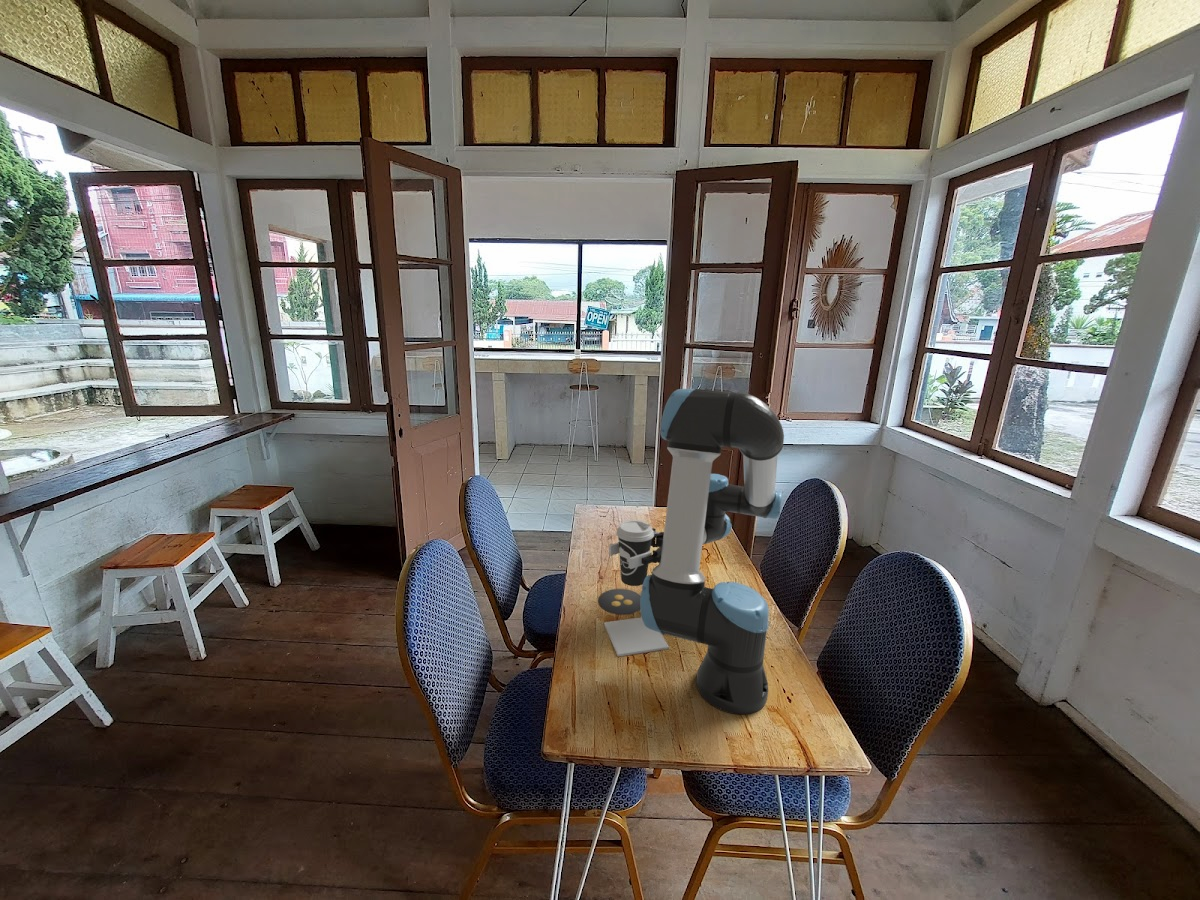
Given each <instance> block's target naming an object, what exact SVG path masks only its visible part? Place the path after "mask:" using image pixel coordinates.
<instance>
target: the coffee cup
mask: <svg viewBox="0 0 1200 900" xmlns="http://www.w3.org/2000/svg"><path fill="white" fill-rule="evenodd" d="M652 528H653V527H652V526H651V524H650V523H648V522H647V521H643V520H639V519H637V520H636V519H632V520H625V521H623V522H621V523H620V524H619V526H618V528H617V529H616V532H615V534H616V536H617V538H618V539H617V540H618V542H619V553H618V555H619V566H620V567H619V568H620V580H621V582H622V583H623V584H625V586H626V585H627V586H631V587H638V586H643V582H644V580H645V578H646V577H647V576H648V569H649V564H647V565H642V566H639V567H636V568H633V569H630V568H629V558H631V557H634V556H637V555H640V554H643V553H646V552H649V551H650V552H651V547H652V546H651V541H652V538H653V537H654V532H653V530H652Z"/></svg>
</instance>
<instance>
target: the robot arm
mask: <svg viewBox="0 0 1200 900" xmlns="http://www.w3.org/2000/svg"><path fill="white" fill-rule="evenodd" d="M780 421H781V420H780V419H779V418H778V416H777V415H776V413H775V412H774V410H773V409H772V408H771V407H769V406H768V404H766V402H764V401H763V400H761V399H759V398H758V397H756V396H755V395H752V394H749V393H747V392H739V391H738V392H734V391H733V392H732V391H731V392H730V391H722V390H721V391H720V390H711V389H701V388H678V389H676V390H674V391H673V392H672V393H671V394H670V396H669V398H668V399H667V401H666V404H665V406H664V410H663V413H662V417H661V421H660V436H661V438H662V439H663V440H664V441H667V448H666V449H667V450H668V452H669V453H670V454H671V455H672V456H671V457H672V463H671V469H670V470H671V472H670V480H669V488H668V496H667V504H666V512H665V520H664V521H665V522H664V529H663V531H660V532H657V530H656V528H654V527H651V528H652V530H653V532H654V537H653V538H652V541H651V547H652V548H657V549H655V550H654V549H653V550H652V552H651V550H650V551H649V552H646V553H643V554H640V555H637V556H634V557H631V558H629V568H630V569H633V568H636V567H639V566H642V565H647V564H648V565H650V564H656V563H658V565H656V566H655V567H654V568H652V571H651V574H647V577H646V578H645V580H644V582H643V585H641V586H642V587H641V588H642V589H641V592H640V596H641V599H640V618H641V617H642V620H643V622H644V625H645V626H646V627H647V628H649V629H651V630H654V631H657V632H660V633H661V634H662V635H667V636H671V637H675V638H679V639H683V640H687V641H690V642H693V643H694V642H695V643H699V644H703V645H706V646H707V651H706V654H705V655H704V658H703V659H702V661H701V664H700V665H699V667H698V670H697V673H696V688H697V690H698V693H699V694H700V696H701V697H702V698H703V699H704V700H705V701H706V703H708V704H709V705H710V706H713V707H714V708H716V709H718V710H720V711H722V712H725V713H730V714H734V715H748V714H749V715H750V714H753V713H756V712H758V711H759V710H761V709H763V707H764V706H765V705H766V703H767V701H768V695H769V682H768V679H767V675H766V671H765V667H764V659H765V658H764V657H765V648H766V643H767V642H766V640H767V633H768V632H767V631H768V629H769V627H770V621H769V616H770V615H769V613H770V611H769V608H770V607H769V605H768V602H767V601H766V599H765V598H764V597H763V596H762V595H761V594H760V592H758V591H757V590H756V589H754V588H752V587H751V586H748V585H746V584H742V583H739V582H734V581H727V582H725V581H722V582H718V583H717V584H715V585H714V587H713V588H711V587H706V586H705V583H706V576H705V575H704V574H703V572H702V571H701V570H700V567H701V558H702V551H703V545H706V544H710V543H713V542H716V541H719V540H722V539H724V538H725V537H727V536H729V535H730V533H731V532H732V527H733V525H732V523H731V519H730V517H729V516H728V515H727V514H726V512H729V513H733V514H734V513H735V514H742V515H747V516H752V517H759V518H762V519H763V518H764V519H773V520H774V519H775V520H776V519H779V518H780V517H781V511H782V505H783V504H782V502H783V493H782V492H780V491H776V482H777V481H776V479H777V466H778V455H779V454H780V453H781V452H782V451H783V447H784V443H785V441H784V439H785V435H784V429H783V426H782V423H781V422H780ZM723 447H727V448H736V449H738V450H739V451H740V453H741V454H742V460H743V463H742V464H743V481H744V482H743V483H744V485H736V484H735V485H734V484H730V483H729V478H728V477H727V476H726V475H722V474H721V473H720V474H719V473H712V470H713V469H712V468H713V462H714V461H715V460H716V459H717V458H718V457H719V456H721V454H722V448H723ZM617 554H618V555H619V541H618V542H615V543H612V544H609V545H608V555H609V556H611V557H612V556H614V555H617Z"/></svg>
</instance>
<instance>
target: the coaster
mask: <svg viewBox="0 0 1200 900" xmlns="http://www.w3.org/2000/svg"><path fill="white" fill-rule="evenodd" d="M597 599H598V601H597V602H598V605H599V607H600V608H601V609H603V610H604V611H605V612H608V613H609V614H614V615H619V616H624V615H632V614H635V613H637V612H639V611H641V609H640V599H641V594H639V593H638V592H637V591H634V590H631V589H627V588H614V589H608V590H607V591H604V592H602V593H601V594H600V595H599V597H598V598H597Z"/></svg>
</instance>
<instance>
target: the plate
mask: <svg viewBox="0 0 1200 900" xmlns="http://www.w3.org/2000/svg"><path fill="white" fill-rule="evenodd" d="M603 626H604V628H605V631H606V633H607V635H608V637H609V639H610V642H611V644H612V646H613V649H614V651H615V653H616V656H617V657H618V658H619V657H623V656H624V657H625V656H630V655H637V654H644V653H650V652H657V651H662V650H663V651H664V650H669V649H670V646H669V645H668V643H667V641H666V639H665V638H664V636H663V634H661V633H660V632H657V631H654V630H651V629H649V628H647V627H646V626H645V625H644V622H643V620H642V617H641V616H640V617H634V618H626V619H619V620H613V621H606V622H603Z"/></svg>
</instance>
